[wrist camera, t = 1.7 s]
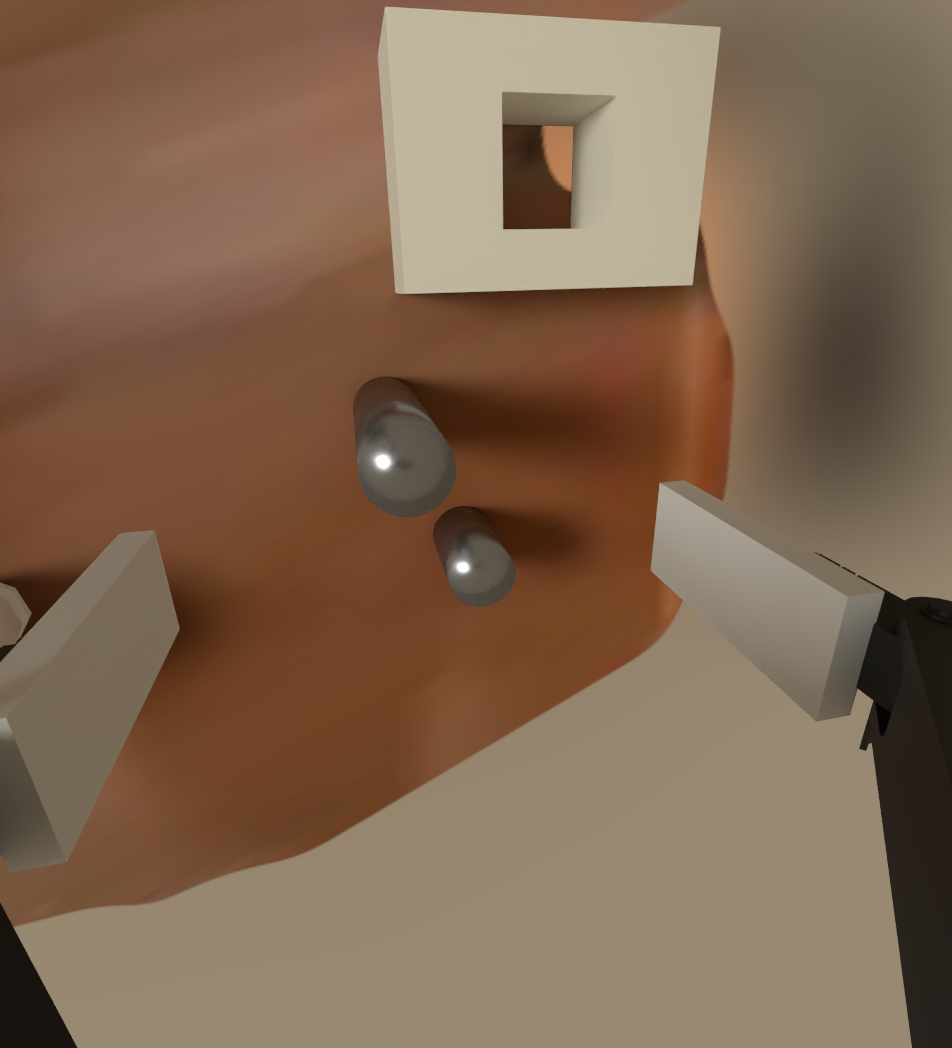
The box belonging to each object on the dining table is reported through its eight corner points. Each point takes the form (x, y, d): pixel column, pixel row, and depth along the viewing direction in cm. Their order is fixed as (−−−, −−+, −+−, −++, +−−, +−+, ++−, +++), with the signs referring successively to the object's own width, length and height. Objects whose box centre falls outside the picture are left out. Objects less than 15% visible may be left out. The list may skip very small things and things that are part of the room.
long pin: (349, 378, 31) (353, 426, 20) (415, 374, 32) (454, 419, 21) (356, 443, 32) (363, 521, 22) (420, 438, 33) (458, 512, 22)
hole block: (377, 55, 26) (385, 6, 22) (661, 68, 29) (720, 27, 24) (395, 293, 30) (404, 294, 25) (643, 285, 32) (692, 285, 28)
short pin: (431, 509, 35) (447, 549, 29) (489, 503, 35) (515, 542, 30) (434, 562, 36) (451, 610, 31) (490, 556, 37) (515, 602, 31)
